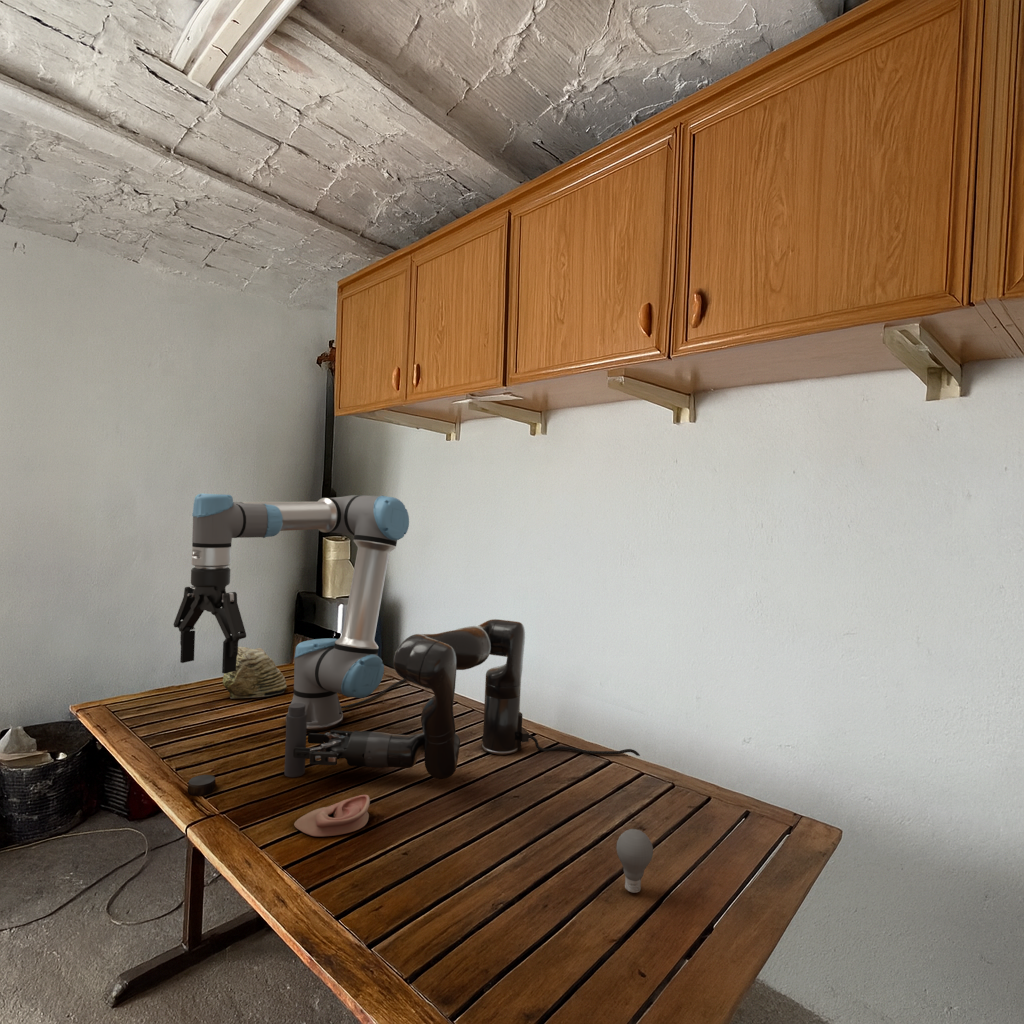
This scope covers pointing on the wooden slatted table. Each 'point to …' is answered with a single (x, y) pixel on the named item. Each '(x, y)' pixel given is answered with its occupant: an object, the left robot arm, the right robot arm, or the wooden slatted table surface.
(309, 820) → the anatomical model
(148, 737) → the wooden slatted table surface
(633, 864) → the light bulb
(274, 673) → the fossil
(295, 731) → the dark grey cylinder
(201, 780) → the lid
